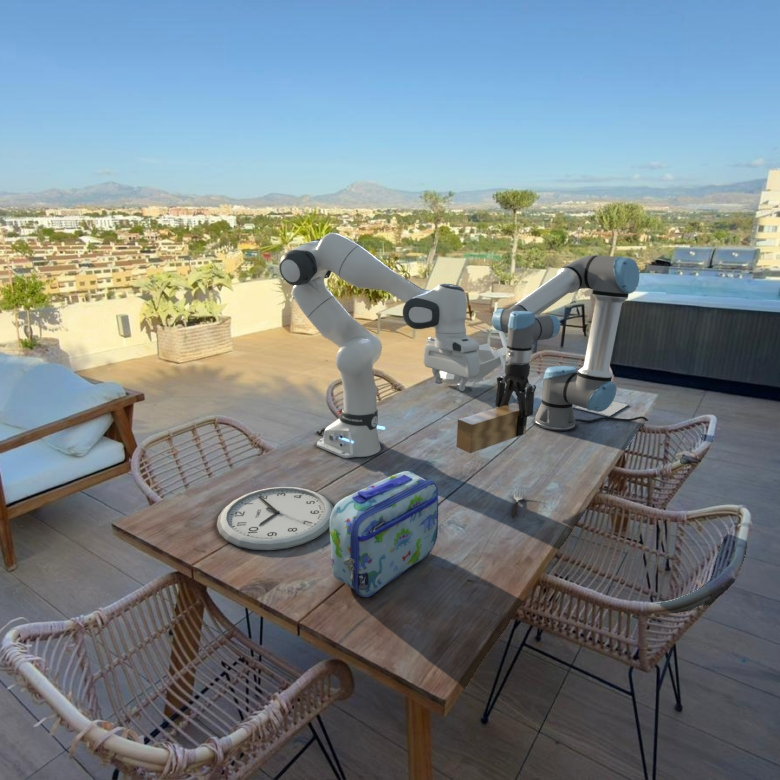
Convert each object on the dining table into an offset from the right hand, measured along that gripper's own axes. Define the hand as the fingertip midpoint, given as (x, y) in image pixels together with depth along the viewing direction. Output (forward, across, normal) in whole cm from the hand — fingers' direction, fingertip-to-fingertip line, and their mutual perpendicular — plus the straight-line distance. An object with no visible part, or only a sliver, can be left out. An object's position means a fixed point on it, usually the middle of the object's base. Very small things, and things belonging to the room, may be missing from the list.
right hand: (511, 431), depth 168 cm
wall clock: (+11, -14, -76) cm, 78 cm away
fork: (+11, +20, -21) cm, 30 cm away
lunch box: (+11, +20, -66) cm, 70 cm away
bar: (+1, 0, -9) cm, 9 cm away
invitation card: (+11, -13, +77) cm, 79 cm away
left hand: (-17, -8, -21) cm, 28 cm away
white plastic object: (+11, -58, +49) cm, 77 cm away
